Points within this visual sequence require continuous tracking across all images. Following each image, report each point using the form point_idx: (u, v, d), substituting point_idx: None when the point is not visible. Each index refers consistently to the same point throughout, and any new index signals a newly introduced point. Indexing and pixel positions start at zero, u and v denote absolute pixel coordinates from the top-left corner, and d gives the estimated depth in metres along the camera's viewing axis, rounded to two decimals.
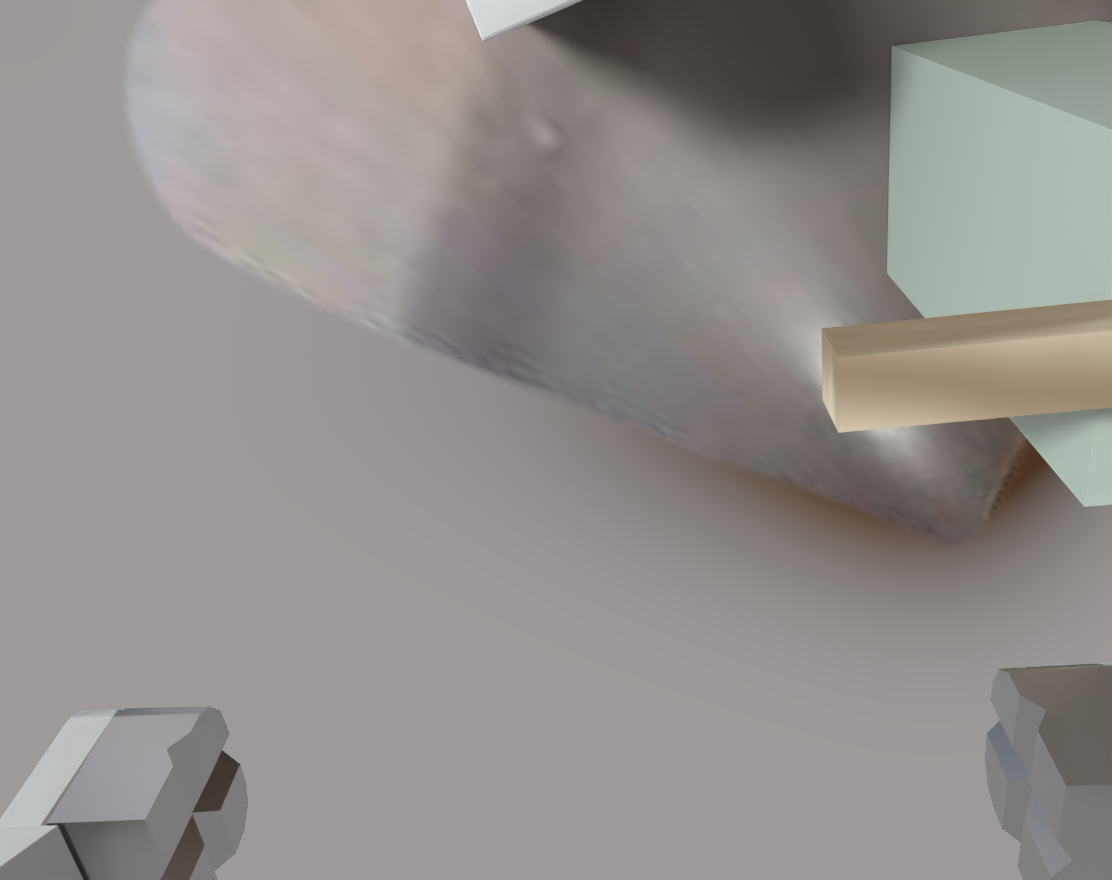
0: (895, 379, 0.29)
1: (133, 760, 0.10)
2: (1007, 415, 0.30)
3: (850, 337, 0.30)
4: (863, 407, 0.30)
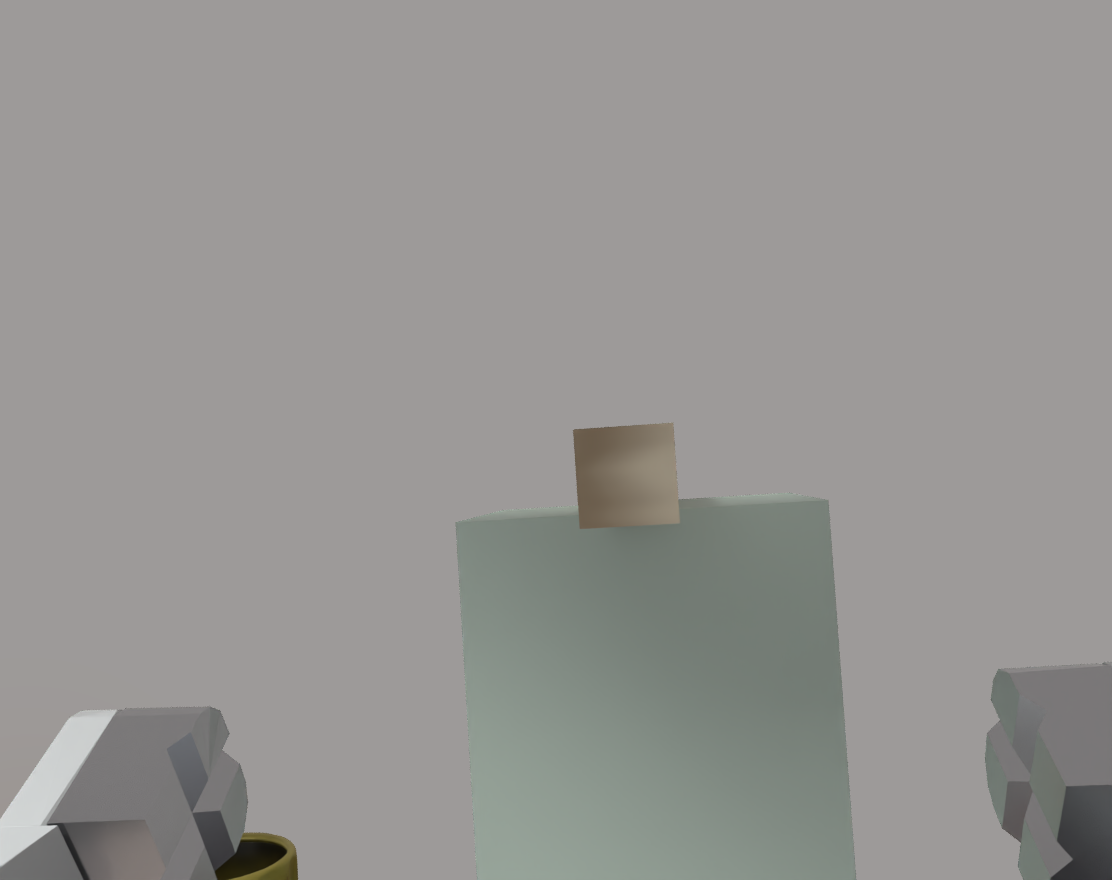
0: None
1: (133, 760, 0.10)
2: None
3: None
4: None
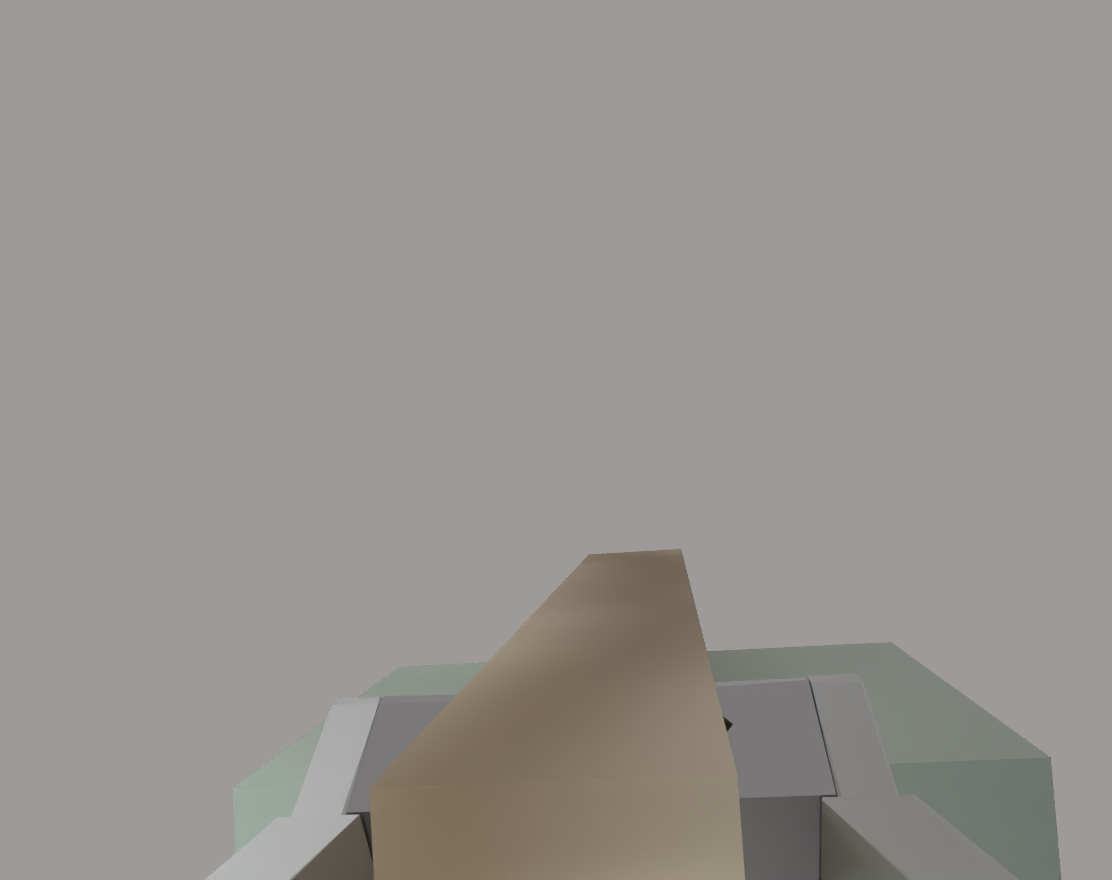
0: (528, 723, 0.08)
1: None
2: (701, 648, 0.11)
3: None
4: (623, 746, 0.07)
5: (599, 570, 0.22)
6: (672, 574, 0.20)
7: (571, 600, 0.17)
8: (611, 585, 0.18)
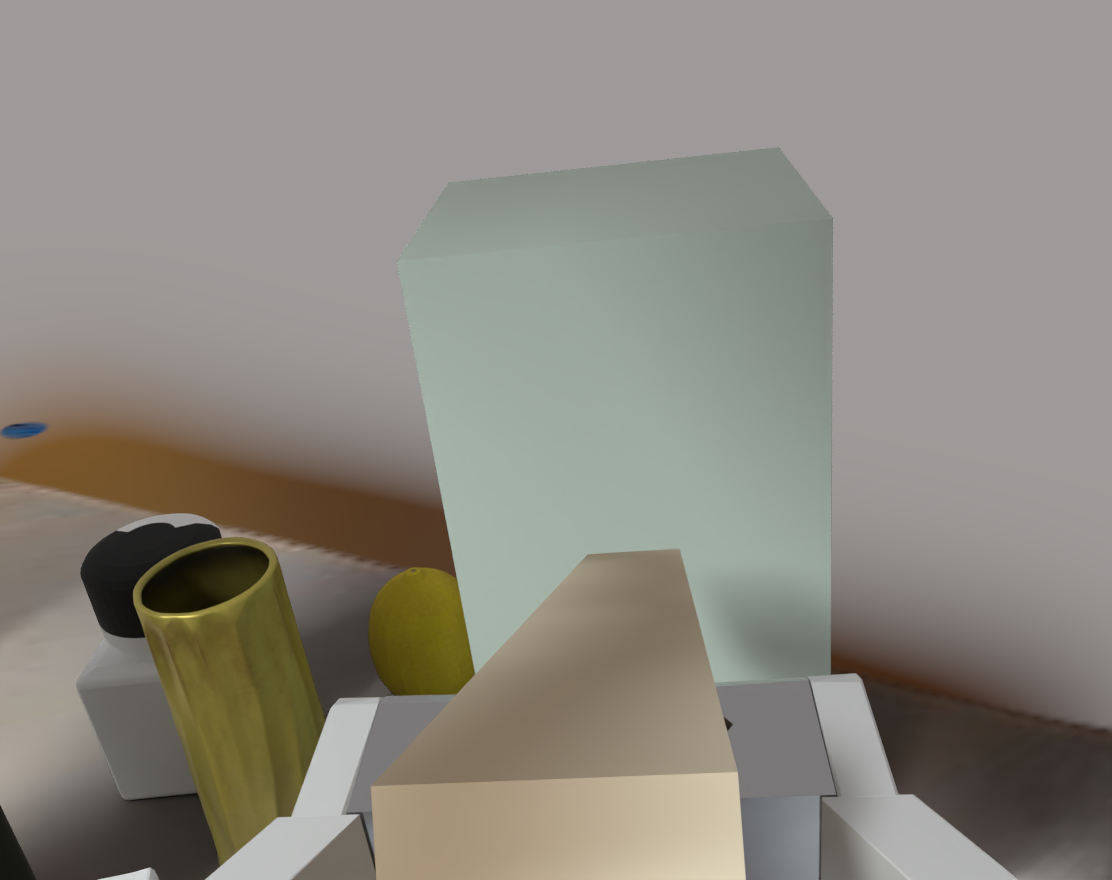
0: (528, 721, 0.08)
1: None
2: (701, 647, 0.11)
3: None
4: (624, 745, 0.07)
5: (598, 569, 0.22)
6: (671, 573, 0.20)
7: (570, 599, 0.17)
8: (610, 584, 0.18)
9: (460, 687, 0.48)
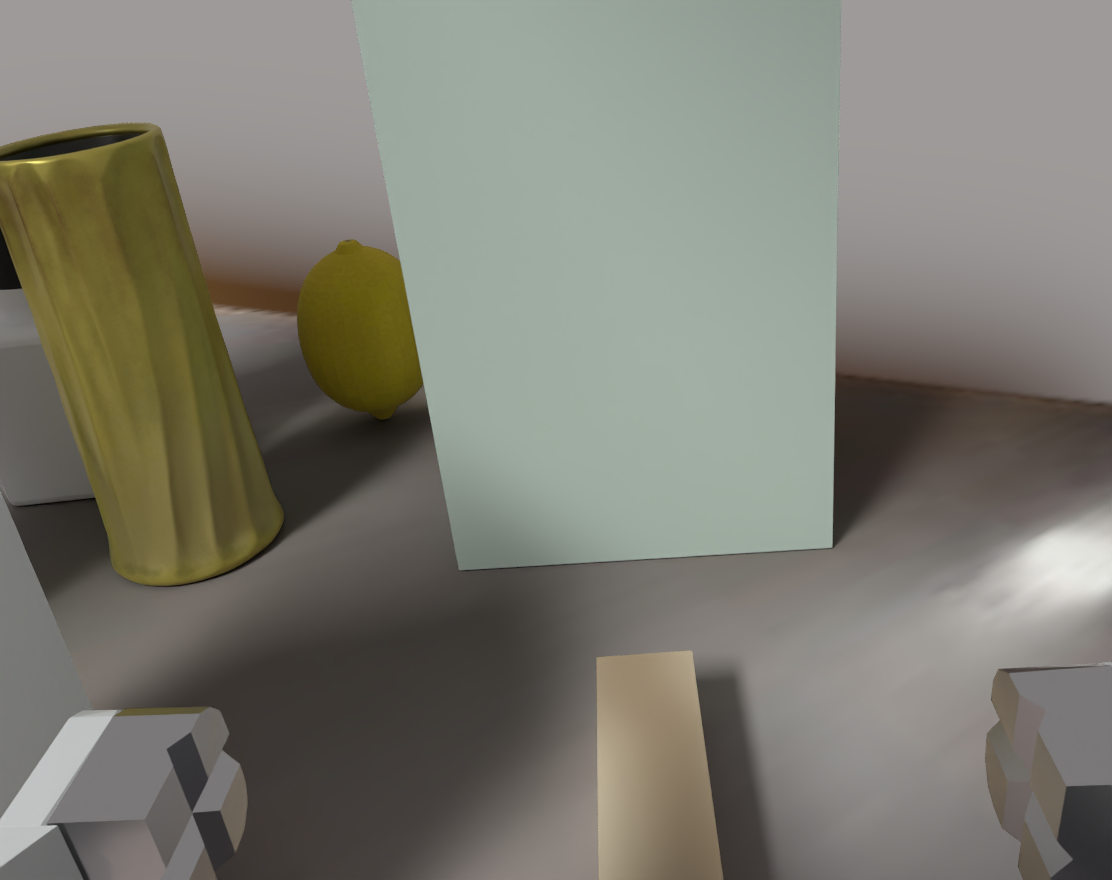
0: None
1: (133, 760, 0.10)
2: None
3: None
4: None
5: (625, 805, 0.21)
6: (708, 876, 0.20)
7: None
8: None
9: (403, 381, 0.41)
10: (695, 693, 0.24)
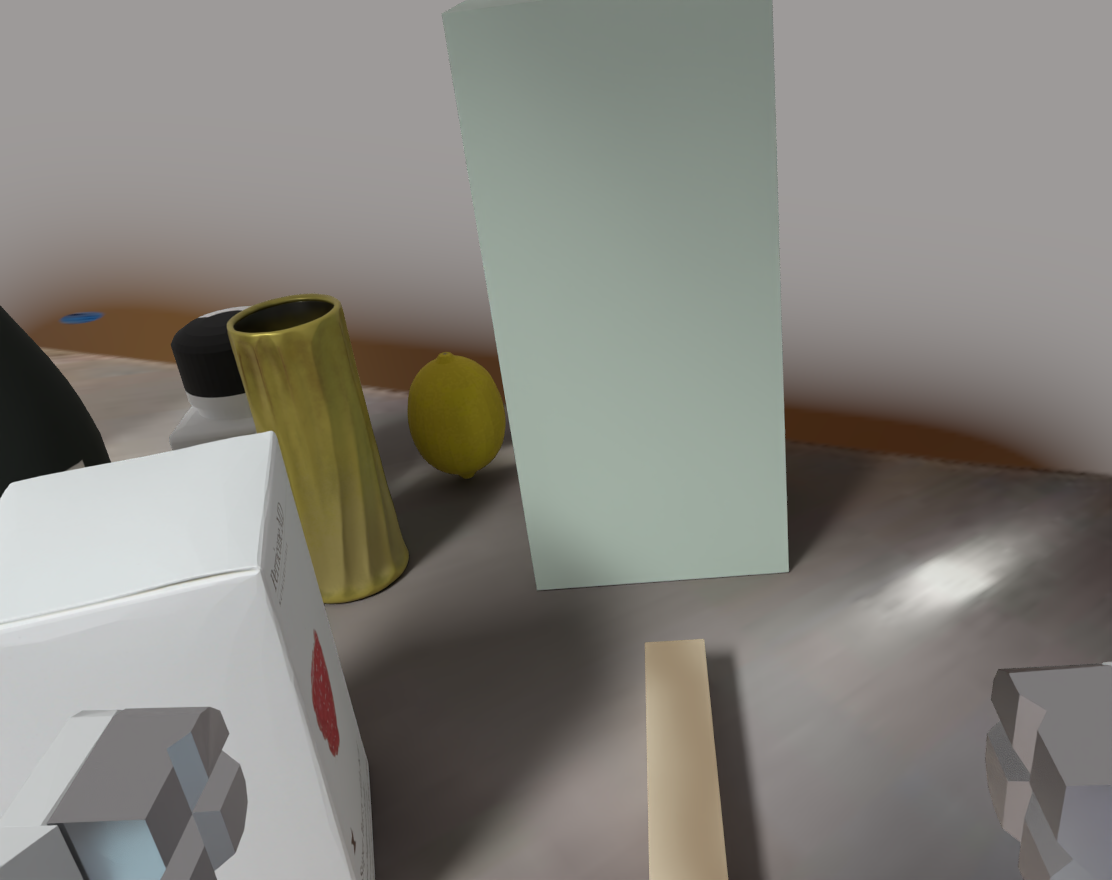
0: None
1: (133, 760, 0.10)
2: None
3: None
4: None
5: (662, 726, 0.37)
6: (708, 761, 0.35)
7: (662, 842, 0.32)
8: (677, 794, 0.34)
9: (485, 453, 0.57)
10: (705, 664, 0.40)
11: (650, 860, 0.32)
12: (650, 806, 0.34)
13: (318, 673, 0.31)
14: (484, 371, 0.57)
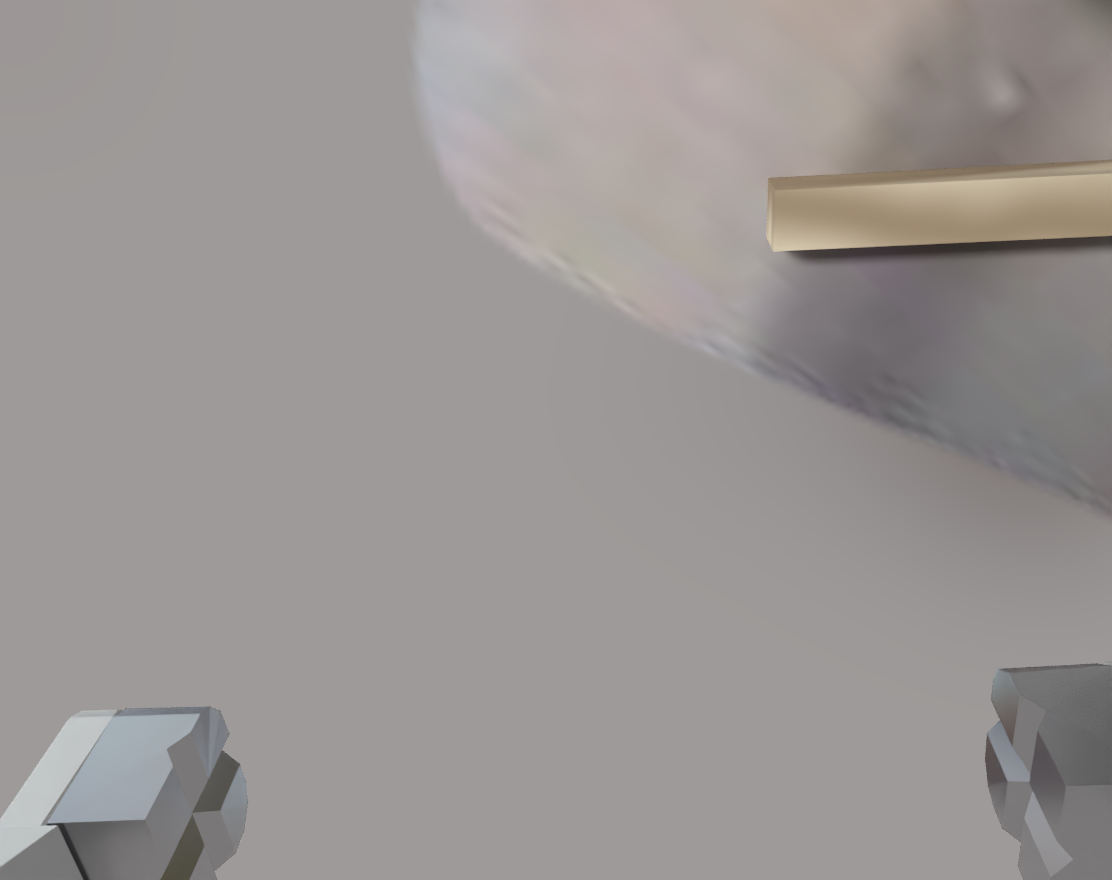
0: (816, 210, 0.39)
1: (133, 760, 0.10)
2: (899, 244, 0.40)
3: (787, 180, 0.40)
4: (792, 231, 0.40)
5: None
6: None
7: (1041, 188, 0.38)
8: (1093, 200, 0.38)
9: None
10: None
11: (1024, 179, 0.38)
12: (1084, 176, 0.38)
13: None
14: None
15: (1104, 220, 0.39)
